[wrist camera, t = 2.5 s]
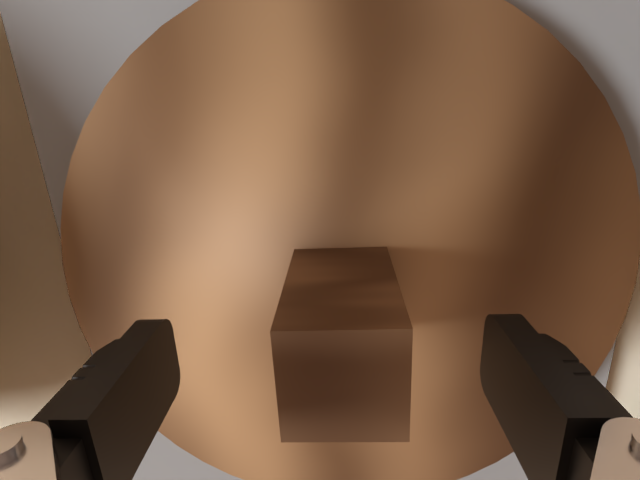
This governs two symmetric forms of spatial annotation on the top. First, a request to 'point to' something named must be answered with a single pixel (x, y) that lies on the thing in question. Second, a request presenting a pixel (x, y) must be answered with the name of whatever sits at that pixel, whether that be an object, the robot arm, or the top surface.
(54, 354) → the top surface
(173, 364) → the robot arm
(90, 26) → the mat
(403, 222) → the lid
